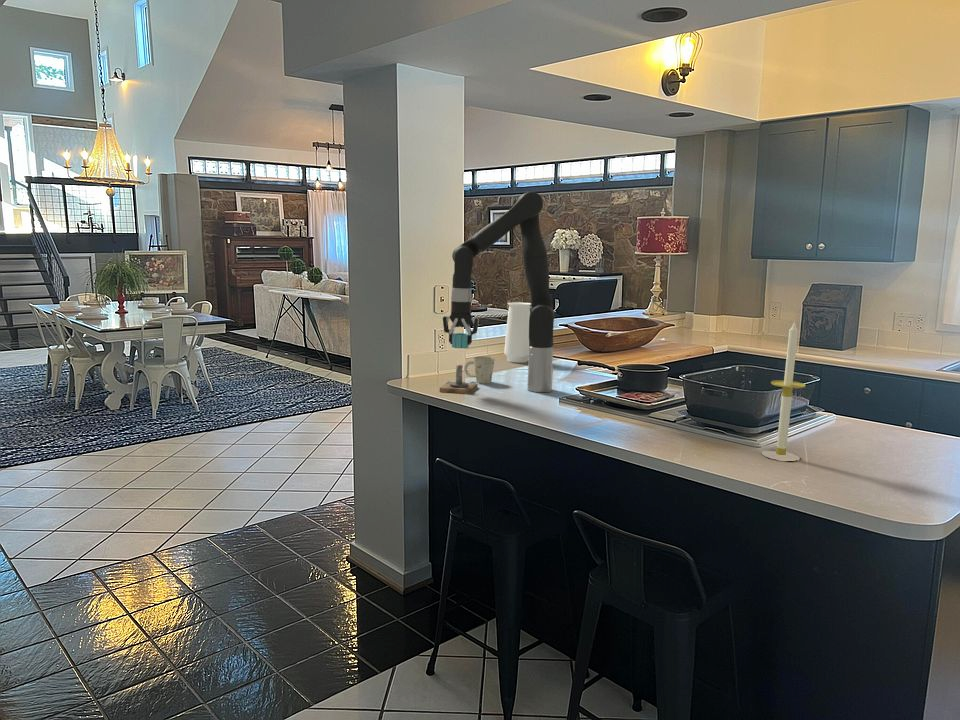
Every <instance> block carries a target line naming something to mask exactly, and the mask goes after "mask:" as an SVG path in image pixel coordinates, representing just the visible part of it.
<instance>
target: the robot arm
mask: <svg viewBox="0 0 960 720" xmlns="http://www.w3.org/2000/svg"><path fill="white" fill-rule="evenodd" d="M543 207H544V200H543V198H542V196H541V194H539V193H538V192H535V191H527V192H524V193H523V194H521V195H519V197H518V198H517V199H516V202H515V204H513V206H512V207H511V208H510V209H509V210H507V211H505V213H504V214H502V215H501V216H499V217H498V218H495V220H493V221H492V222H490V223H488V224H487V225H486V226H484V227H483V228H481V229H480V230H479V231H478V232H477V233H475V234H474V235H473V236H472V237H470V238H469V239H467V240H466V241H464V242H462V243H461V244H460V245H458V246H457V247H456V248H454V250H453V251H452V253H451V254H452V255H451V257H452V261H453V263H454V264H453V265H454V266H453V267H454V272H453V275H452V286H451V287H452V288H451V296H450V297H451V298H450V300H451V302H450V303H451V305H450V308H451V309H450V315H445V316H443V317H442V323H443V332H444V333H447V334H448V342H449V343H450V345H452V334H453V333H454V332H455V330H456V328H464V329H465V331H466V334H468V341H467V345H469V346H470V345H471V344H472V342H473V335H475V334H477V332H478V329H479V328H478V327H479V322H480V318H479V317H473V316H472V272H473V263H474V258H475V257H476V256H478V255H479V254H480V253H482V252H486V251H487V250H488V249H489V248H490V247H492V246H493V245H494V244H496V243H497V242H499V240H501V239H502V238H503V237H504V236H505V235H507V234H508V233H509V232H511V230H513V229H514V228H515V227H517V226H518V225H519V227H520V234H521V251H522V252H521V253H522V262H523V267H524V268H523V269H524V273H525V279H526V282H527V285H528V287H529V292H530V301H531V305H530V306H531V309H530V316H529V358H528V361H527V362H528V364H527V365H528V367H527V368H528V369H527V390H528V391H530V392H535V393H550V392H552V390H553V372H554V365H553V359H554V358H553V356H554V354H553V353H554V325H555V324H554V322H555V318H556V317H555V316H556V315H555V314H556V313H555V311H554V306H553V303H552V298H551V294H550V293H551V292H550V270H549V269H550V268H549V261H548V260H549V259H548V253H547V248H546V245H545V242H544V239H543V238H544V237H543V236H542V233H541V228H540V218H539V217H540V213H541V212H542V210H543ZM449 321H451V323H452V324H451V326H450V329H449ZM470 322H472V324H473V328H472V329H471V326H470Z"/></svg>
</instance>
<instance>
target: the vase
mask: <svg viewBox="0 0 960 720" xmlns="http://www.w3.org/2000/svg"><path fill="white" fill-rule="evenodd" d="M507 305H508V310H507V318H506V319H507V321H506V327H505V329H506V330H505V339H504V340H505V341H504V350H503V351H504V352H503V353H504V355H505V356H506V360H507V362H509V363H514V364H515V363H516V364H517V363H518V364H519V363H522V364H523V363H527V362H528V361H529V316H530V312H531V306H532V305H531V303H530V302H518V301H515V302H507Z"/></svg>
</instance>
